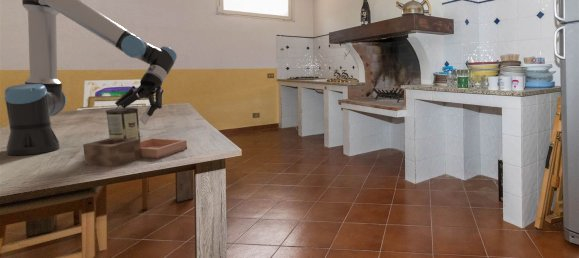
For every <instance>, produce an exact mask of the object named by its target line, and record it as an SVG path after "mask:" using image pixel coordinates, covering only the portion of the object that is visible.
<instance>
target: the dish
mask: <svg viewBox="0 0 579 258" xmlns="http://www.w3.org/2000/svg"><path fill="white" fill-rule="evenodd" d="M140 148H141V158H145V159H156V160H157V159H161V158H163V157H166V156H169V155H173V154H175V153H177V152H181V151H184V150H186V149H188V145H187V140H186V139H174V138H173V139H172V138H159V137H158V138H156V137H151V138H148V139H143V140H140Z"/></svg>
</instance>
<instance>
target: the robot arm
mask: <svg viewBox="0 0 579 258" xmlns="http://www.w3.org/2000/svg"><path fill="white" fill-rule="evenodd" d="M21 2H22V7H23V8H24V9H25V10H26V12H27V20H28V21H27V22H28V26H27V27H28V56H29V57H28V58H29V59H28V60H29V77H28V78H27V79H26V80H24V84H15V85H11V86H8V87H6V88H5V89H4V101H5V107H6V112H7V117H8V125H9V130H10V131H9V136H8V138H7V139H8V140H7V144H6V154H7V155H8V154H9V156H27V155H38V154H43V153H48V152H49V153H50V152H52V151H56V150H58V149H60V141H59V139H58V138H57V136H56V133H55V132H54V130H53V128H52V124H51V117H53V116H56V115H57V114H59V113H60V112H63V110H64V108H65V106H66V104H67V97H66V94H65V93H64V92H63V82H61V80H59V79H58V56H57V55H58V52H57V49H58V48H57V47H58V45H57V15H59V14H61V15H63V16H64V17H65V18H67V19H69V20H71V21H72V22H75V23H76V24H78V25H79V26H80V27H82V28H84V29H85V30H87V31H89V32H90V33H92V34H94V35H95V36H97V37H99V38H100V39H101V40H103V41H105V42H106V43H108V44H109V45H111V46H113V47H115V48H117V50H119V51H121V52H123V53H124V54H125V55H126V56H128V57H129V58H133V59H137V60H140V61H141V62H143V63H146V65H147V64H148V65H149V66H148V68H147V69H146V71H145V73H144V74H143V75H142V77H141V78H140V81H139V82H140V83H139V84H140V85H138V87H136V86H135V85H133V86H131V87H130V88H129V90H128V91H126V92H125V93H124V94H123V95H122V96H121V97H120V98H118V100H116V101H115V102H114V104H115V105H116V106H117V107H116V108H115V109H120V108H128V107H129V106H130V105H131V104H133V103H134V102H136V101H137V100H139V101H140V100H141V99H148V102H149V105H147V107H146V109H145V110H144V112H143V114H142V115H141V118H140V119H139V121H140V122H141V123H142V124H143V125H146V124H147V123H148V122H149V120H150V118H151V117H152V116H153V114H154V113H155V111H157V109H159V110H160V109H162V108H163V93H164V89H163V88H162V85H163V83H164V82H165V80H166V78H167V76H168V74H169V73H170V71H171V70H172V68H173V66H174V64H175V62H176V60H177V59H178V58H177V57H178V56H177V52H175V50H174V49H173V48H171V47H170V46H161V47H160V48H159V47H156V46H154V45H153V44H150V43H148V42H147V41H145V40H143V39H142V38H140V37H139V36H137V35H135V34H134V33H132V32H130V31H129V30H128V29H126V28H124V27H123V26H121V25H120V24H119V23H117V22H115V21H114V20H112V19H110V18H109V17H108V16H106V15H104V14H103V13H101V12H100V11H98V10H97V9H95V8H93V7H92V6H90V5H89V4H87V3H86V2H85V1H82V0H22V1H21ZM154 95H155V97H154Z"/></svg>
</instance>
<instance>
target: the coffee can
mask: <svg viewBox="0 0 579 258" xmlns="http://www.w3.org/2000/svg"><path fill="white" fill-rule="evenodd" d="M138 111H139V108H136V107H125V108H120V109H116V108H112V109H107V110H106V111H105V114H106V119H107V129H108V137H109V138H127V139H140V140H141V133H140V122H139V121H140V120H139V113H138ZM109 138H108V139H109Z"/></svg>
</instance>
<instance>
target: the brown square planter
mask: <svg viewBox="0 0 579 258" xmlns="http://www.w3.org/2000/svg"><path fill="white" fill-rule="evenodd" d="M140 141H141V138H140V139H127V138H105V139H102V140H97V141H92V142H89V143H84V144H82V148H83V155H84V163H85V165H94V166H101V167H102V166H103V167H113V168H114V167H116V166H120V165H123V164H126V163H129V162H132V161H135V160H139V159H141V158H142V157H141V148H140Z"/></svg>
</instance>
